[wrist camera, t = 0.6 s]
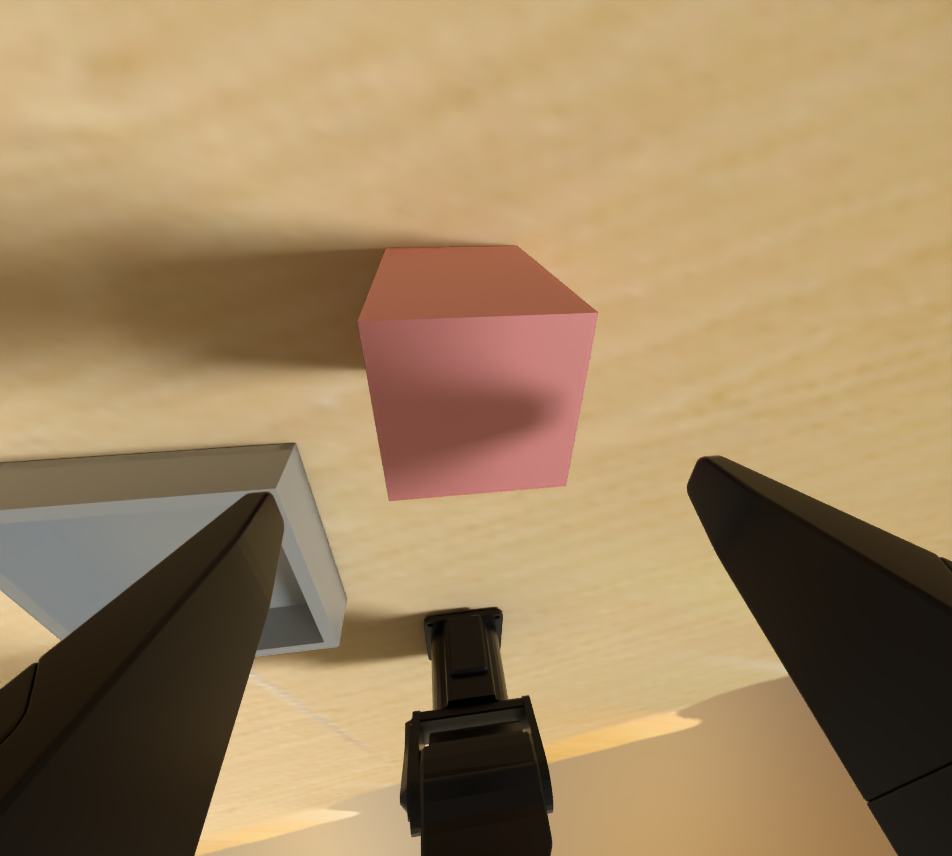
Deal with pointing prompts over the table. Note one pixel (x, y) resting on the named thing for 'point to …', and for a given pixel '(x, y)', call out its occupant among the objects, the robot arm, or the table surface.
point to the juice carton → (473, 370)
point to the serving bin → (159, 534)
